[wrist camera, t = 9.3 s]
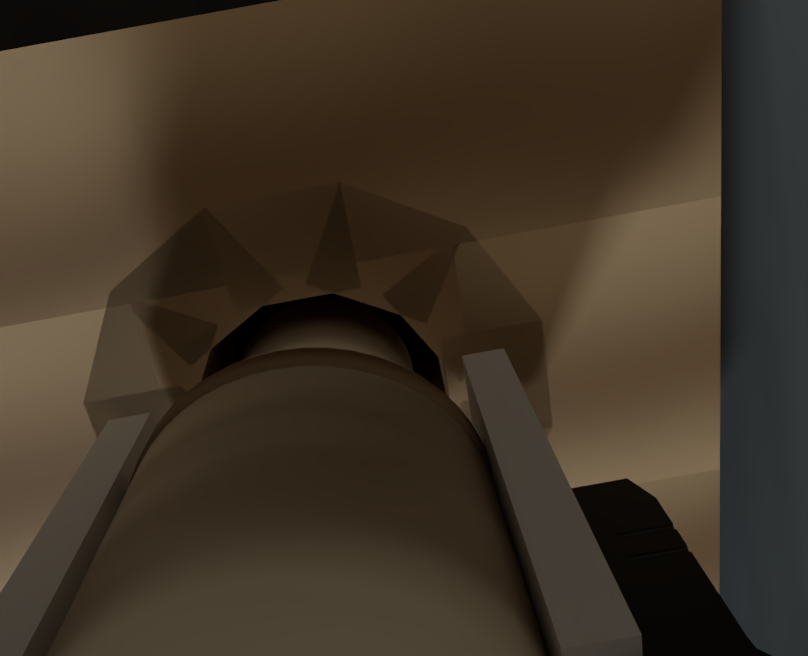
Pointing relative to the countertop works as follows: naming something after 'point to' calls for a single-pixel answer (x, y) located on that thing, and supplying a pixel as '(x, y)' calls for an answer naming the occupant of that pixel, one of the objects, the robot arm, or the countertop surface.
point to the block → (373, 220)
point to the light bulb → (308, 514)
